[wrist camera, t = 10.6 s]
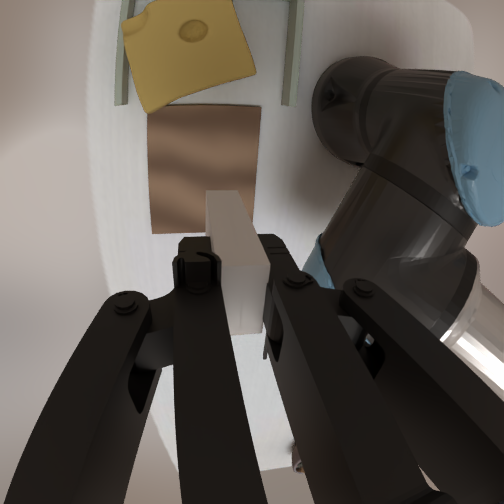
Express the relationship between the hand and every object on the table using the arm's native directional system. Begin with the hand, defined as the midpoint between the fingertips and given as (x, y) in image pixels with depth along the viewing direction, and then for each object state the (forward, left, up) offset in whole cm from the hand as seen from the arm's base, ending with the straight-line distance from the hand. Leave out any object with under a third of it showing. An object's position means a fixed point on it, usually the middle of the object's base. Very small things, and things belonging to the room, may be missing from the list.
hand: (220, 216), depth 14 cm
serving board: (+2, +3, -22) cm, 22 cm away
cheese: (-4, -10, -22) cm, 25 cm away
